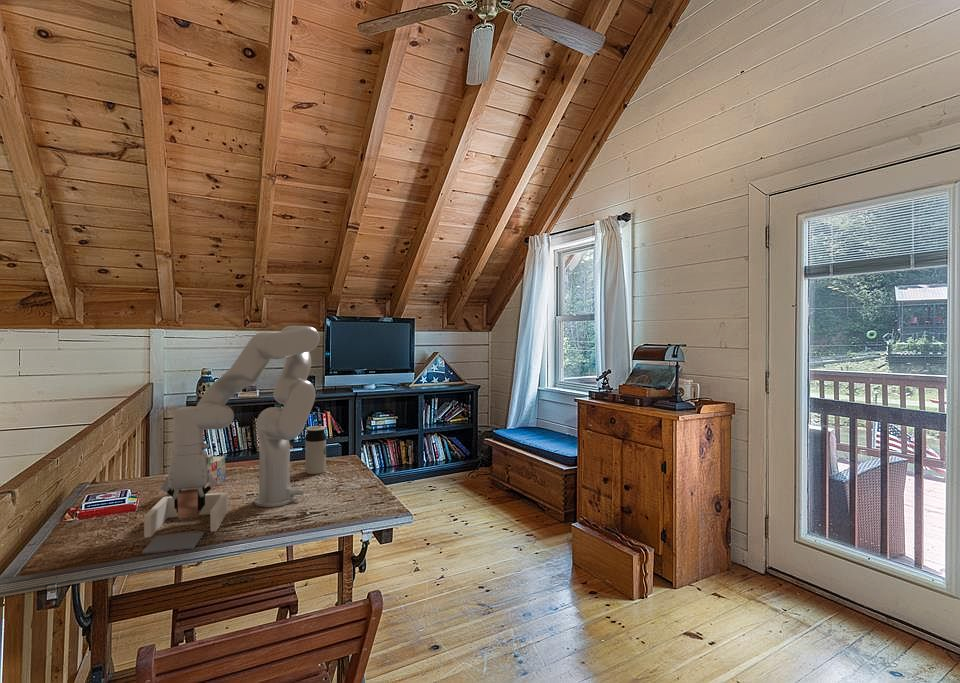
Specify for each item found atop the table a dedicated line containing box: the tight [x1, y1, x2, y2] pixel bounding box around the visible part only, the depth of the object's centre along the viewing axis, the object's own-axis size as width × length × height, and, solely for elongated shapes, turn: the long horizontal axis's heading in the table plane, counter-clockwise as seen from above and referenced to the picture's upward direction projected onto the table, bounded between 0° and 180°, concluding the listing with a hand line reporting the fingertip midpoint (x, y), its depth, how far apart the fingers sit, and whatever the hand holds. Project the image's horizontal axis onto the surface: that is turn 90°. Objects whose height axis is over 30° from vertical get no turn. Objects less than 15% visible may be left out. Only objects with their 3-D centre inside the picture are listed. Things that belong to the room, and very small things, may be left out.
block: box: [177, 488, 202, 519], centre depth 145 cm, size 5×5×7 cm
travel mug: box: [304, 425, 327, 475], centre depth 199 cm, size 8×8×18 cm
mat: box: [141, 531, 205, 555], centre depth 133 cm, size 12×10×1 cm
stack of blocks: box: [181, 454, 227, 490], centre depth 176 cm, size 21×6×12 cm, turn 1°
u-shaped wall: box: [143, 492, 229, 538], centre depth 146 cm, size 18×16×6 cm
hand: (190, 509), depth 145 cm, fingers closed on block, 4 cm apart
